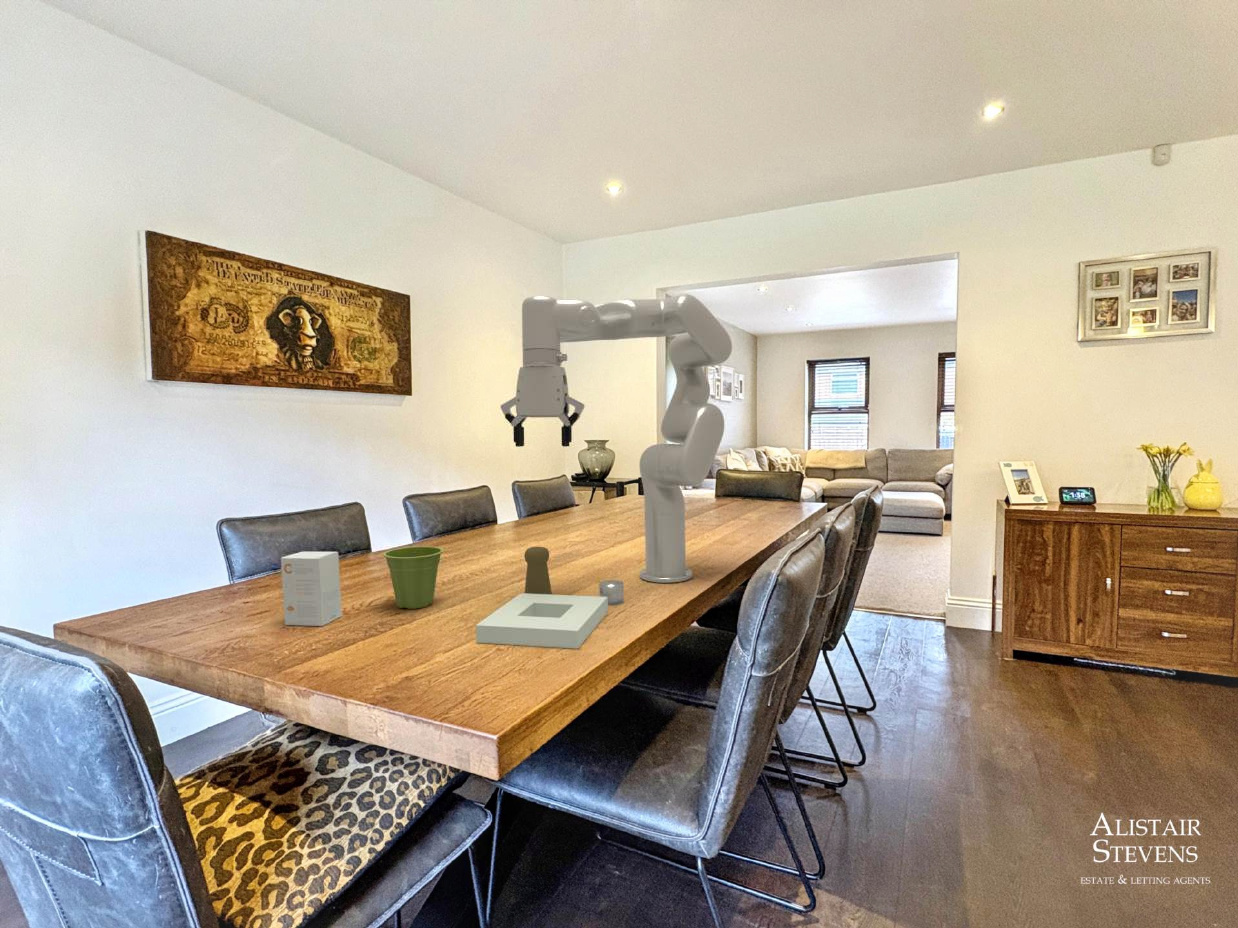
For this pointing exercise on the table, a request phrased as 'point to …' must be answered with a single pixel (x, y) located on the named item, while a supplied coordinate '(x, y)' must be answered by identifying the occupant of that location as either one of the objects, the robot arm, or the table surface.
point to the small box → (311, 588)
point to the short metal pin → (612, 591)
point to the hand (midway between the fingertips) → (542, 446)
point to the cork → (537, 571)
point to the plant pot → (413, 574)
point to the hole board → (543, 621)
